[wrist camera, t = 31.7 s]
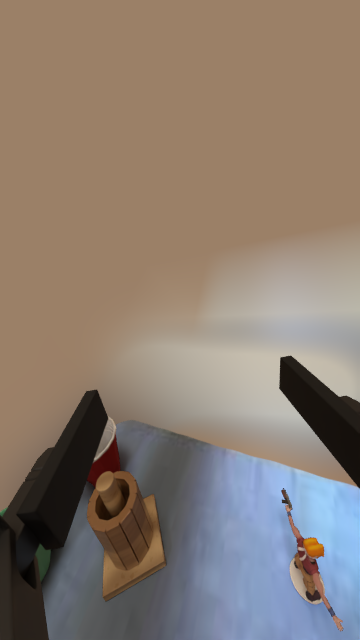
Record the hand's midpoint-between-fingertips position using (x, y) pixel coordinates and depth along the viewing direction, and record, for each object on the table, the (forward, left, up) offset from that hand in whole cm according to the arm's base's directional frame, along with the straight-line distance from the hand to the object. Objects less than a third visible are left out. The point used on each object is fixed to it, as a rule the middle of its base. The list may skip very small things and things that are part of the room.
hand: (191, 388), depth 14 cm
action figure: (-2, -11, -35) cm, 37 cm away
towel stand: (+10, +12, -35) cm, 38 cm away
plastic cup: (+23, +17, -35) cm, 45 cm away
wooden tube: (+10, +12, -33) cm, 37 cm away
